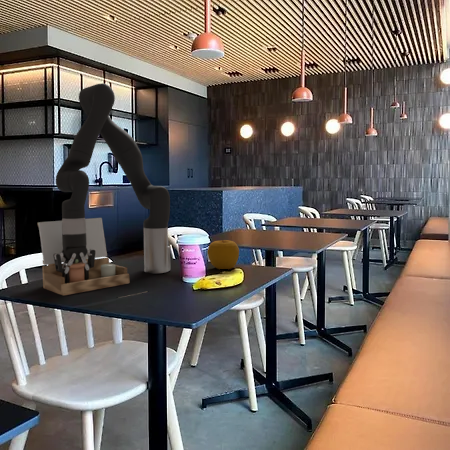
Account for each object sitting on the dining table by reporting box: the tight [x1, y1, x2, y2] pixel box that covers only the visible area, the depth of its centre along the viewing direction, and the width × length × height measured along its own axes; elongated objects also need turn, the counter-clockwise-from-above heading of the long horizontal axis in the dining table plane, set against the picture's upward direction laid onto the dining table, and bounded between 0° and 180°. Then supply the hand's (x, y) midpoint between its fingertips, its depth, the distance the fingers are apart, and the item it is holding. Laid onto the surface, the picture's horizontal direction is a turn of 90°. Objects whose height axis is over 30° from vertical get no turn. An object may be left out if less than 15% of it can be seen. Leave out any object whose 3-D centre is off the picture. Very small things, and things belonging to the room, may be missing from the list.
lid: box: [37, 217, 108, 266], centre depth 170 cm, size 23×14×1 cm
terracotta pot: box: [68, 259, 85, 283], centre depth 162 cm, size 6×6×10 cm
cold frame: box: [41, 257, 131, 296], centre depth 166 cm, size 24×18×18 cm
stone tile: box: [116, 291, 148, 299], centre depth 159 cm, size 11×11×1 cm
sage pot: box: [101, 263, 116, 278], centre depth 169 cm, size 5×5×6 cm
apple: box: [207, 239, 240, 270], centre depth 198 cm, size 13×13×11 cm
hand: (75, 282), depth 162 cm, fingers open, 6 cm apart
